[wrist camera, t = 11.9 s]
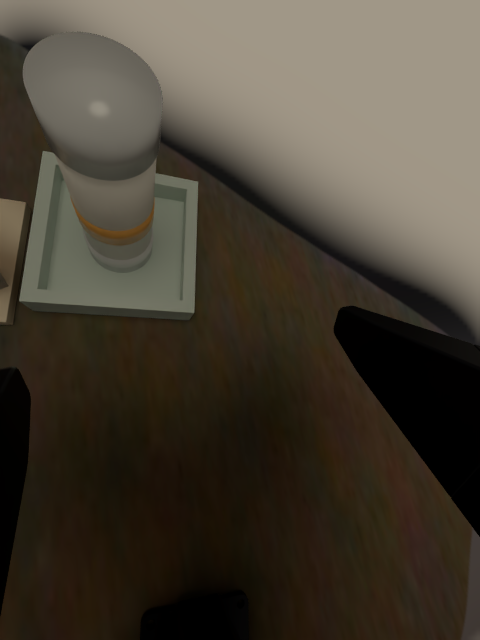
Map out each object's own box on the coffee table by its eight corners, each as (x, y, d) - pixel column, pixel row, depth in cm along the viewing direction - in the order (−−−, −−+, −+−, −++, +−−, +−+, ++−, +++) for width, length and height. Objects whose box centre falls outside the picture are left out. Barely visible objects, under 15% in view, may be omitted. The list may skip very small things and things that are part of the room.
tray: (189, 320, 22) (194, 312, 20) (33, 311, 19) (19, 301, 17) (192, 200, 24) (198, 181, 22) (53, 175, 21) (43, 151, 19)
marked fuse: (157, 269, 21) (172, 143, 10) (93, 276, 20) (31, 138, 9) (147, 215, 22) (151, 42, 11) (84, 218, 21) (15, 21, 10)
